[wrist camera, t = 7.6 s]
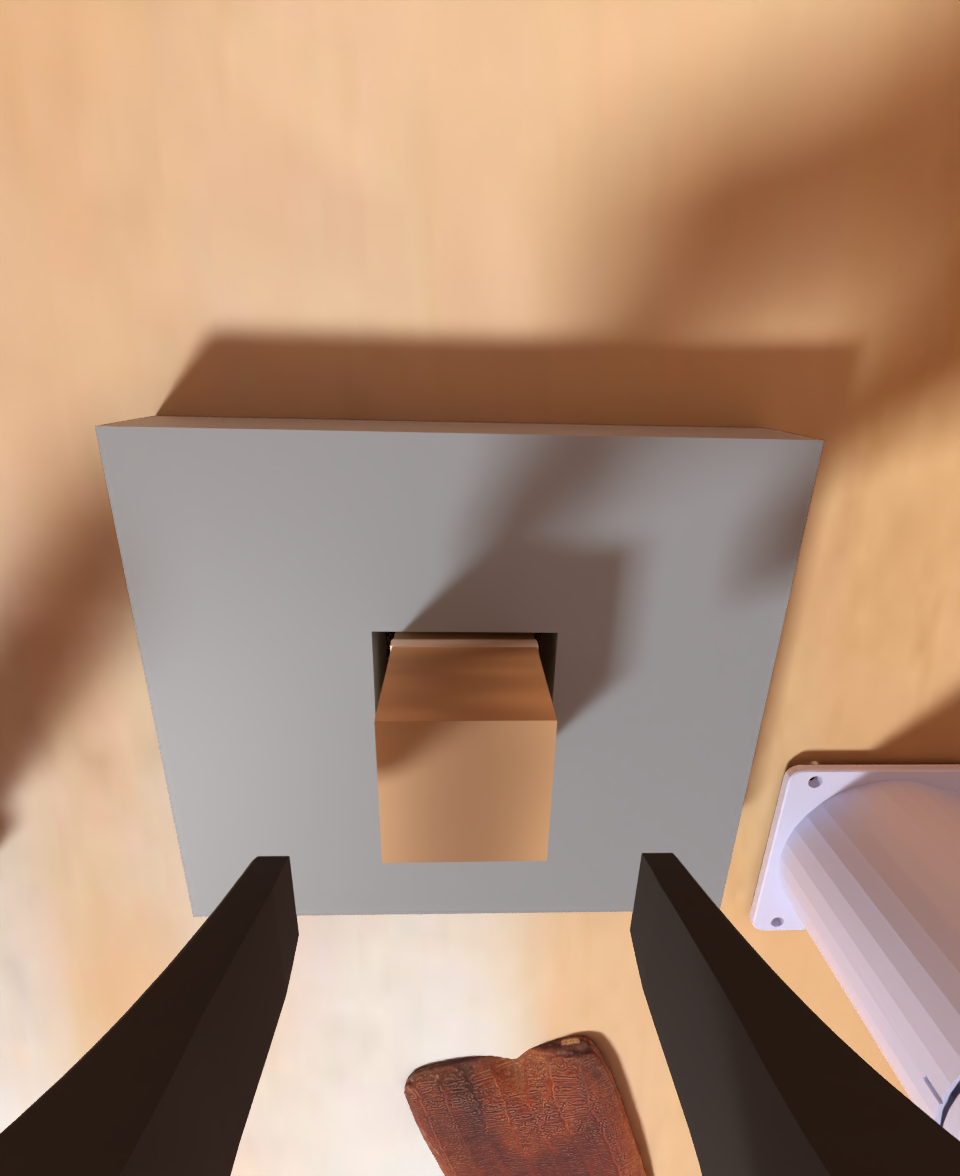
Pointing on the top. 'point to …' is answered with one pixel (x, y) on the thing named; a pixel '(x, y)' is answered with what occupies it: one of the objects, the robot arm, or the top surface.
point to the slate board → (454, 604)
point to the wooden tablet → (526, 1114)
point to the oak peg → (464, 749)
